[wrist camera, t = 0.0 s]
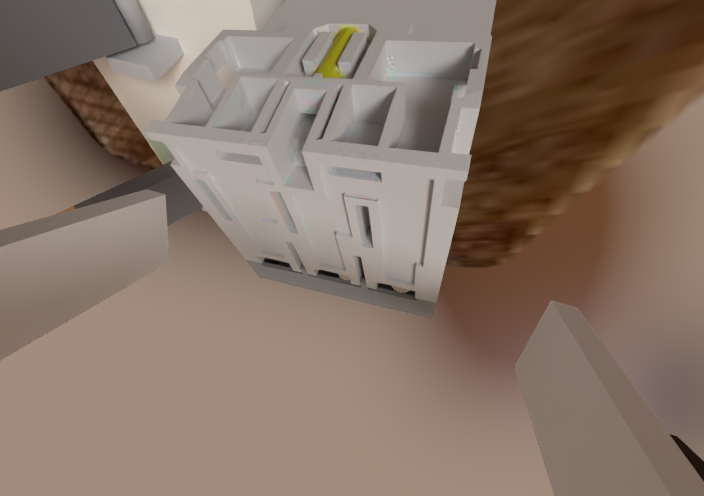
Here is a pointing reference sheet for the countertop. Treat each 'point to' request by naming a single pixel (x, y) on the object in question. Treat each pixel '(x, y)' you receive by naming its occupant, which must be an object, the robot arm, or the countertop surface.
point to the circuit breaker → (338, 141)
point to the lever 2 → (159, 181)
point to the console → (175, 54)
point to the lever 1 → (64, 35)
